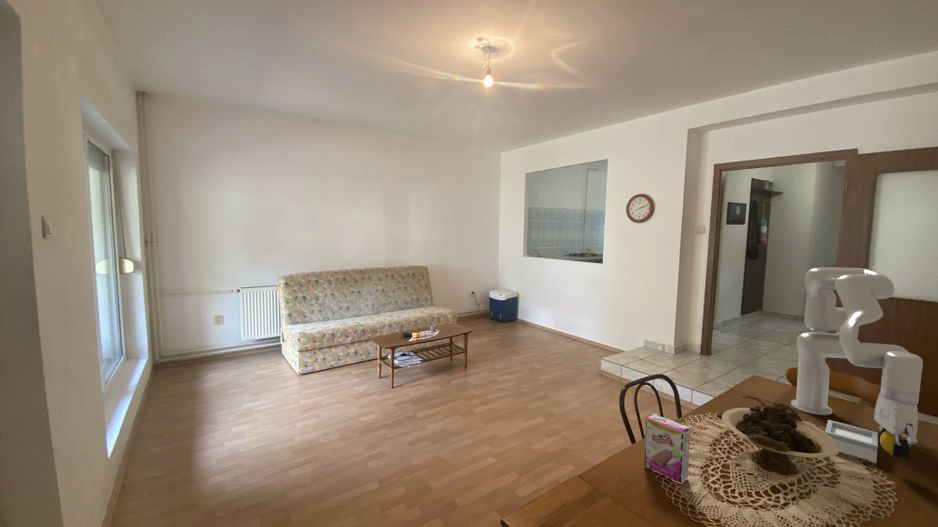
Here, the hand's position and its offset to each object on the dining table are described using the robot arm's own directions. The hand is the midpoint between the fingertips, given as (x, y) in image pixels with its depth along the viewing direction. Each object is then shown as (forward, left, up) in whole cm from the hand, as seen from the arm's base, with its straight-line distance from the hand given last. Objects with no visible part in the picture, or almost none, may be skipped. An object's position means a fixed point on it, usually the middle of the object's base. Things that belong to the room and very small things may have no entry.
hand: (892, 450), depth 114 cm
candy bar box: (+23, -64, -7) cm, 68 cm away
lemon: (0, 0, -2) cm, 2 cm away
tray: (-12, -4, -7) cm, 15 cm away
